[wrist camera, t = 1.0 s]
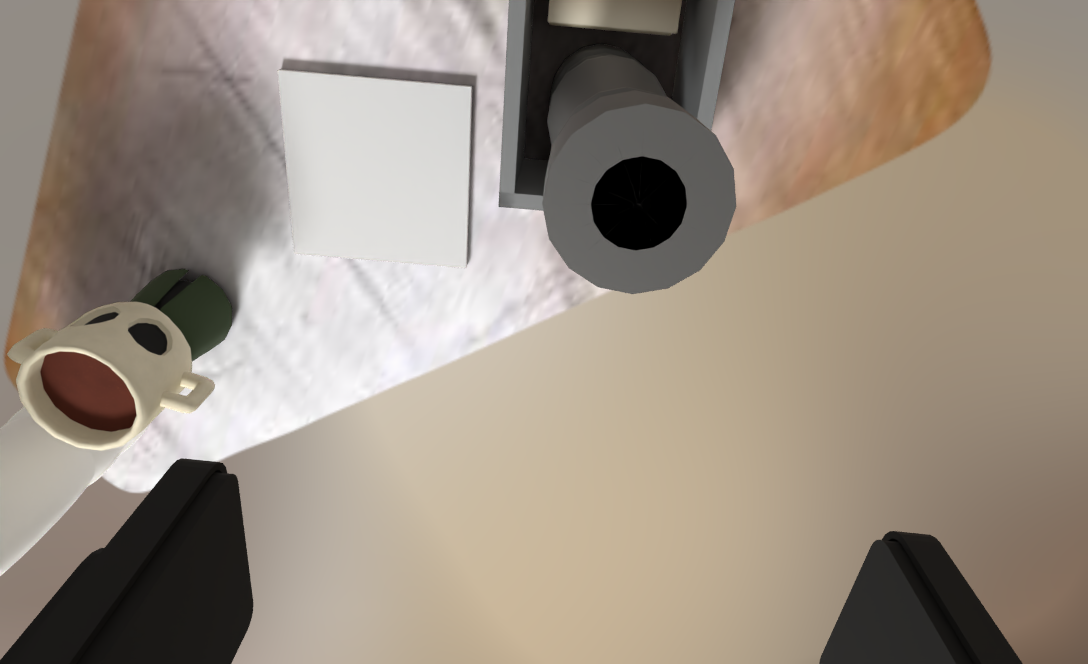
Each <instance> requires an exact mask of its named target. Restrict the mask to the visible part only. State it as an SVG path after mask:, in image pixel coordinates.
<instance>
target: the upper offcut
mask: <svg viewBox="0 0 1088 664" xmlns="http://www.w3.org/2000/svg"><path fill="white" fill-rule="evenodd" d="M681 4H682V0H549V11H548V22H554V23H565V24H576V25H587V26H598V27H609V28H620V29H631V30H642V31H653V32H664V33H675V34H677V30H678V23H679V17H680V10H681Z"/></svg>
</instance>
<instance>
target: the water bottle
mask: <svg viewBox="0 0 1088 664" xmlns="http://www.w3.org/2000/svg"><path fill="white" fill-rule="evenodd" d="M148 426H149V425H148ZM148 426H147V427H146V428H145V429H144V430H143V431H142V432H140V433H139V434H138V435H137V436H135V437H134V438H133V439H131V440H130V441H129V442H127V443H126V444H125V445H123V446H122V447H117V448H112V449H107V450H102V451H99V450H92V449H85V448H77V447H75V446H73V445H71V444H68V443H66V442H64V441H62V440H60V439H57V438H55V437H53V436H52V435H51V434H50V433H48V432H47V431H46V430H45V429H44V428H42V427H41V426H40V425H39V424H38V423H36V422H35V421H34V420H33V418H32V417H31V415H30V414H29V412H28V411H27V410H26V408H25V407H23V408H22V409H21V410H19V411H18V412H17V413H16V414H14V415H13V416H12V417H11V419H10V420H9V421H8V422H7V423H6V424H5V425H4V426H2V427H1V428H0V576H1V575H2V574H3V573H4V572H6V570H8V569H9V568H10V567H11V566H12V565H13V564H15V562H17V561H18V560H19V559H20V558H21V557H22V556H23V555H24V554H25V553H26V552H27V551H28V550H29V549H30V548H31V547H32V546H33V545H34V544H36V543H37V541H39V540H40V538H41V537H42V536H43V535H44V534H45V533H46V532H47V531H48V530H49V529H50V528H51V527H52V526H53V525H54V524H55V523H56V522H57V521H58V520H59V519H60V518H61V517H62V516H63V515H64V514H65V512H66V511H67V510H68V509H69V508H70V507H71V506H72V505H73V504H74V502H75V501H76V500H77V499H78V498H79V496H80V495H81V493H83V491H84V490H85V489H86V488H87V486H89V485H91V484H92V483H93V482H95V481H96V480H97V479H99V478H100V477H101V476H102V475H103V474H104V473H105V472H106V471H107V470H108V469H109V468H110V467H111V466H112V464H113V463H114V462H115V461H116V459H117V458H118V456H119V455H120V454H122V453H123V452H124V451H126V450H127V449H128V448H129V447H131V446H132V445H133V444H134V443H135V442H136V441H137V440H138V439H139V438H140V437H141V436H142V435H143V434H144V432H145V431H146V430H147V428H148Z"/></svg>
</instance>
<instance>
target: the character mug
mask: <svg viewBox="0 0 1088 664" xmlns="http://www.w3.org/2000/svg"><path fill="white" fill-rule="evenodd" d="M188 271H189V270H186V269H179V270H170V271H166V272H164V273H163V274H161V275H160V276H158V277H157V278H155V279H154V280H152V281H151V282H150V283H149V284H148V285H147V286H145V287H144V288H143V289H142V290H141V291H140V292H139V293H138V294H137V295H136V296H135V297H134V298H133V299H132V300H131V301H130V302H116V303H112V304H108V305H104V306H100V307H98V308H95V309H93V310H91V311H89V312H87V313H85V314H84V315H82V316H81V317H80V318H78V319H77V320H76V321H74V322H73V323H71V324H70V325H68V326H67V327H65V328H63V329H61V330H60V331H56V330H53V329H47V328H43V329H40V330H37V331H35V332H34V333H32V334H31V335H29V336H27V337H26V338H24V339H23V340H21V341H19V342H18V343H16V344H15V345H13V347H12V348H11V349H10V351H9V352H8V354H7V355H8V356H9V357H10V358H11V359H12V360H13V361H15V362H17V363H20V364H21V367H20V370H19V373H18V376H17V379H16V383H17V387H18V391H19V396H20V400H21V402H22V404H23V405H24V407H25V408H26V410H27V411H28V412H29V414H30V415H31V417H32V418H33V420H34V421H35V422H36V423H38V424H39V425H40V426H41V427H42V428H44V429H45V430H46V431H47V432H48V433H50V434H51V435H52V436H53V437H55V438H57V439H60V440H62V441H64V442H66V443H68V444H71V445H73V446H75V447H77V448H85V449H92V450H99V451H102V450H107V449H112V448H117V447H122V446H123V445H125V444H126V443H127V442H129V441H130V440H131V439H133V438H134V437H135V436H137V435H138V434H139V433H140V432H142V431H143V430H144V429H145V428H146V427H147V426H148V425H149V424H150V423H151V422H152V421H153V420H154V419H155V418H156V417H157V416H158V415H159V414H160V413H161V412H162V411H163V410H164V409H165V408H168V409H171V410H175V411H178V412H181V413H192V412H193V411H195V410H196V409H197V408H198V407H199V406H200V405H201V404H202V403H203V401H204V400H205V399H206V398H207V397H208V396H209V395H210V394H211V392H212V391H213V390H214V387H215V384H214V382H213V381H212V380H211V379H209V378H207V377H204V376H200V375H197V374H194V373H191V372H192V361H194V360H195V359H197V358H198V357H200V356H201V355H203V354H205V353H206V352H208V351H209V350H211V349H212V348H214V347H215V346H217V345H218V344H219V343H221V342H222V341H223V340H225V338H226V336H227V334H228V332H229V330H230V328H231V326H232V306H231V304H230V302H229V301H228V299H227V297H226V295H225V293H224V292H223V290H222V289H221V288H220V287H219V286H218V285H217V284H215V283H214V282H213V281H212V280H211V279H209V278H208V277H207V276H204V275H201V276H200V277H198V278H197V279H196V280H195V281H193V282H190V281H184V280H180V279H181V278H182V277H183V276H184V275H185V274H186V273H187V272H188ZM185 387H186V388H189V389H192V391H191V393H190V394H189V395H187V396H183V395H180V394H179V393H180V392H181V391H182V390H183V389H184V388H185Z"/></svg>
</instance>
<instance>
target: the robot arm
mask: <svg viewBox="0 0 1088 664" xmlns="http://www.w3.org/2000/svg"><path fill="white" fill-rule="evenodd" d="M252 613H253V598H252V589H251V582H250V573H249V565H248V557H247V549H246V541H245V533H244V525H243V517H242V509H241V501H240V493H239V486H238V480H237V477H236V475H234V474H227V470H226V467H225V466H224V464H223V463H220V462H212V461H202V460H192V459H179V460H177V461H176V462H175V463H174V464H173V465H172V466H171V467H170V468H169V469H168V471H167V472H166V473H165V474H164V475H163V477H162V478H161V479H160V480H159V482H158V483H157V484H156V485H155V487H154V488H153V489H152V490H151V491H150V493H149V494H148V495H147V497H146V498H145V499H144V500H143V501H142V503H141V504H140V505H139V506H138V507H137V509H136V510H135V511H134V512H133V514H132V515H131V516H130V517H129V519H128V520H127V521H126V522H125V524H124V525H123V526H122V527H121V528H120V530H119V531H118V532H117V533H116V535H115V536H114V537H113V538H112V539H111V541H110V542H109V543H108V545H107V546H106V547H105V548H101V549H98V550H96V551H94V552H92V553H91V554H90V555H89V556H88V557H87V558H86V559H85V560H84V561H83V562H82V563H81V564H80V565H79V566H78V567H77V569H76V570H75V571H74V572H73V573H72V575H71V576H70V577H69V578H68V579H67V581H66V582H65V583H64V584H63V586H62V587H61V588H60V589H59V590H58V592H57V593H56V594H55V595H54V596H53V597H52V599H51V600H50V601H49V602H48V603H47V605H46V606H45V607H44V608H43V609H42V611H41V612H40V613H39V614H38V615H37V617H36V618H35V619H34V620H33V622H32V623H31V624H30V625H29V626H28V628H27V629H26V630H25V631H24V632H23V634H22V635H21V636H20V637H19V639H17V641H16V642H15V643H14V644H13V645H12V647H11V648H10V649H9V650H8V652H7V653H6V654H5V655H4V656H3V658H2V659H1V660H0V664H231V663H232V661H233V659H234V657H235V655H236V652H237V650H238V648H239V646H240V644H241V642H242V640H243V638H244V636H245V634H246V632H247V630H248V627H249V624H250V621H251V618H252ZM820 664H1022V662H1021V661H1020V659H1019V658H1018V656H1017V655H1016V653H1015V652H1014V650H1013V649H1012V647H1011V646H1010V645H1009V643H1008V642H1007V640H1006V639H1005V637H1004V636H1003V634H1002V633H1001V631H1000V630H999V628H998V627H997V625H996V624H995V623H994V621H993V620H992V618H991V617H990V615H989V614H988V612H987V611H986V610H985V608H984V606H983V605H982V604H981V602H980V600H979V599H978V598H977V596H976V595H975V593H974V592H973V590H972V589H971V587H970V586H969V584H968V583H967V581H966V580H965V579H964V577H963V576H962V574H961V573H960V571H959V570H958V568H957V567H956V565H955V564H954V562H953V561H952V559H951V558H950V556H949V555H948V554H947V552H946V551H945V549H944V548H943V546H942V545H941V543H940V542H939V541H938V540H937V539H936V538H935V537H933V536H931V535H925V534H916V533H907V532H897V531H890V532H888V533H887V534H885V536H884V537H883V539H882V540H876V541H875V542H874V543H873V544H872V546H871V548H870V550H869V552H868V554H867V556H866V559H865V561H864V563H863V565H862V567H861V570H860V572H859V574H858V576H857V579H856V581H855V583H854V585H853V587H852V589H851V592H850V594H849V596H848V599H847V600H846V603H845V605H844V607H843V609H842V612H841V614H840V616H839V618H838V620H837V622H836V625H835V627H834V629H833V631H832V633H831V636H830V638H829V640H828V642H827V645H826V647H825V649H824V651H823V653H822V655H821V659H820Z"/></svg>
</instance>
